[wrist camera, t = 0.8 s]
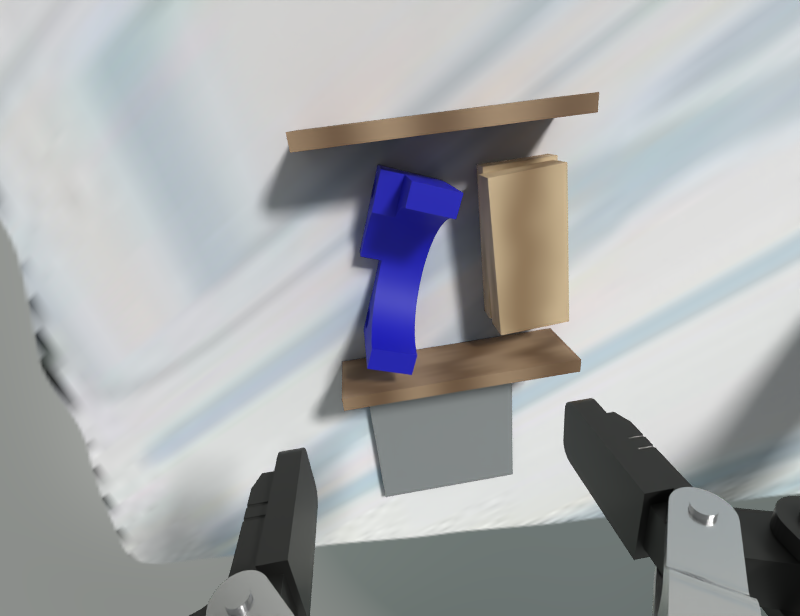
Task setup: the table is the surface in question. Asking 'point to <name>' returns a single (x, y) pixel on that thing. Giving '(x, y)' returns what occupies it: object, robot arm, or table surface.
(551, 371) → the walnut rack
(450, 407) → the rubber mat
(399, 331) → the blue curved piece
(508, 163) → the lower offcut
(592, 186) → the table surface
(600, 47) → the table surface
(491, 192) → the upper offcut
